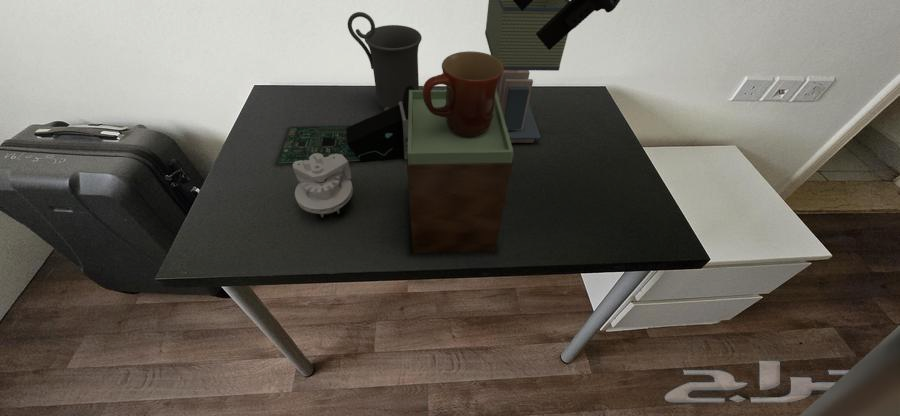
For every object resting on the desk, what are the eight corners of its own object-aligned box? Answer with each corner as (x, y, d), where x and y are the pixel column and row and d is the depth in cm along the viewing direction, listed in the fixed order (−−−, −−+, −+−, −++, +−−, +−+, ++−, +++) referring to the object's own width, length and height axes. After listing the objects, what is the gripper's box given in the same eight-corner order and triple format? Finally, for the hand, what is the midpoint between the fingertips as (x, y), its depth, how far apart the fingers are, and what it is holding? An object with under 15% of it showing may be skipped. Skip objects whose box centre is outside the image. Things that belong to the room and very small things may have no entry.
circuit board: (366, 160, 87) (365, 158, 86) (278, 163, 85) (277, 161, 84) (369, 126, 96) (369, 124, 95) (290, 128, 94) (289, 126, 93)
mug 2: (478, 106, 63) (484, 47, 55) (505, 134, 58) (516, 73, 50) (413, 123, 59) (410, 61, 51) (437, 154, 54) (437, 91, 46)
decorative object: (349, 144, 90) (339, 88, 79) (422, 138, 93) (422, 84, 82) (350, 166, 85) (340, 109, 74) (428, 158, 88) (428, 103, 77)
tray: (494, 100, 66) (496, 89, 64) (511, 163, 54) (513, 151, 53) (409, 100, 65) (409, 89, 63) (408, 164, 53) (407, 153, 52)
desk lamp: (539, 147, 92) (576, 8, 68) (483, 148, 91) (501, 6, 67) (525, 107, 105) (553, -23, 80) (476, 107, 104) (489, -25, 80)
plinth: (483, 187, 82) (495, 99, 66) (494, 251, 70) (513, 163, 54) (413, 188, 81) (408, 100, 65) (413, 253, 69) (406, 165, 53)
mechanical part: (304, 232, 72) (286, 189, 63) (299, 191, 79) (283, 148, 70) (361, 219, 74) (352, 176, 66) (352, 180, 82) (342, 137, 73)
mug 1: (426, 91, 109) (425, -1, 90) (431, 120, 99) (430, 23, 80) (362, 94, 107) (347, 0, 88) (360, 123, 97) (343, 25, 78)
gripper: (761, -73, 35) (572, 82, 45) (639, -111, 52) (521, 8, 62) (742, -149, 31) (538, 41, 41) (615, -164, 48) (493, -27, 58)
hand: (527, 21), depth 51 cm, fingers open, 13 cm apart
